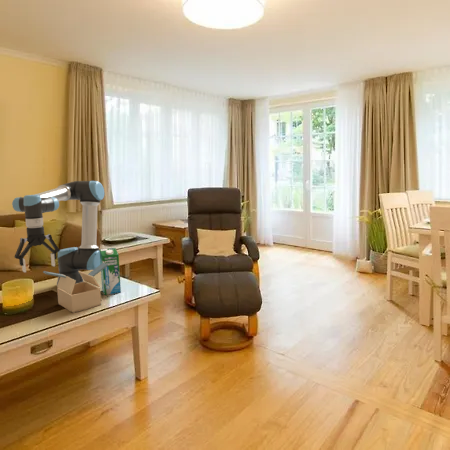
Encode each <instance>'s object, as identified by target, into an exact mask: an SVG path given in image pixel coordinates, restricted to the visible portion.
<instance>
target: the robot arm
mask: <svg viewBox="0 0 450 450" xmlns="http://www.w3.org/2000/svg"><path fill="white" fill-rule="evenodd" d="M104 197H105V188H104V186H103V184H102V183H101V182H100V181H98V180H75V181H69V182H66V183H62V184H59V185H58V186H57V187H56V188H51V189H50V190H49V189H48V190H46V191H42V192H39V193H35V194H26V195H24V196H23V197H22V196H20V197H19V196H18V197H15V198H14V199H13V200H12V203H11V205H12V208H13V211H16V212H19V213H24V217H25V226H26V238H25V237H24V238H23V237H21V238H20V239H19V244H18V246H17V249H16V252H15V253H14V256H13V257H14V259H17V260H19V266H21V268H22V272H23V273H27V266H26V259H25V256H26V255H27V254H28V252H29V251H30V249H31V248H32V247H37V246H41V245H42V246H44V247H45V248H46V249H48V250H49V251H50V252H51V253H50V261H51V267H56V260H57V265H58V274H63V275H65V276H67V277H69V278H71V279H74V280H76V282H75V284H76V283H81V282H84V279H83V278H82V276H81V275H80V273H79V272H78V271H80V270H85V271H86V270H88V271H93V270H94V269H95V268H97V267H98V266H99V265H100V248H99V245H97V237H98V236H97V234H98V233H97V232H98V207H99V205H100V204H101V201H102V200H103V199H104ZM71 200H72V201H75V200H76V201H79V203H80V204H81V206H82V212H81V215H82V216H81V244H80V246H78V247H77V246H76V247H75V246H73V247H67V248H63V249H60V248H59V247H58V245H57V244H56V243H55V241H54V240H53V237H52V235H51V234H50V233H48V234H47V235H46V234H45V229H44V227H45V226H44V218H43V214H45V213H52V212H54V211H57V210H58V209H59V207H60V202H61V201H64V202H66V201H71ZM46 239H47V240H48V242H49V243H50V244H51V246H50V245H49V244H48V243H47V242H46V241H45V240H46ZM26 242H28V243H27V244H26V246H25V243H26ZM24 246H25V248H24ZM57 277H58V276H57ZM59 279H60V277H58V278H57V280H56V281H57V282H56V286H57V285H58V282H59ZM57 288H59V287H57Z"/></svg>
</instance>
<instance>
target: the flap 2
mask: <svg viewBox="0 0 450 450" xmlns="http://www.w3.org/2000/svg"><path fill="white" fill-rule="evenodd" d="M107 266H108V264H105V263H102V264H101V265H99V266H98V267H97V268H95V269H94V270H90V272H88V273H86V272H83V271H82V270H79V271H78V272H79V273H80V275H81V276H82V278H83V282H87V283H89V284H91V285H94V286H96V287H98V288H100V284H99V282H98V281H97V280H96V279H95V276H97V275H98V274H99V273H101V271H102V270H103V269H104V268H106V267H107Z"/></svg>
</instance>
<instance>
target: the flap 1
mask: <svg viewBox="0 0 450 450" xmlns="http://www.w3.org/2000/svg"><path fill="white" fill-rule="evenodd" d="M42 273H43V274H45V275H48V276H54V277H60V279H59V282H58V285H57V284H56V288H58V287H59V288H61V289H62V290H64V291H66V292H68V293H70V294H72V291H73V288H74V285H75V282H76V280H74V279H71V278H69V277H67V276H65V275H63V274H59V273H58V272H57V273H56V272H51V271H50V272H49V271H46V270H42Z"/></svg>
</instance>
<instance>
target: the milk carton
mask: <svg viewBox="0 0 450 450" xmlns="http://www.w3.org/2000/svg"><path fill="white" fill-rule="evenodd" d="M99 251H100V265H101V264H102V263H105V264H108V266H107V267H106V268H104V269H103V270H102V271H100V278H101V291H102V292H103V294H104V295H105V296H106V295H113V294H120V293H121V292H122V290H121V289H122V287H121V275H120V274H121V273H120V271H121V270H120V258H119V257H120V256H119V252H118V250H117V248H116V247H110V248H102V249H100V248H99Z"/></svg>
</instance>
